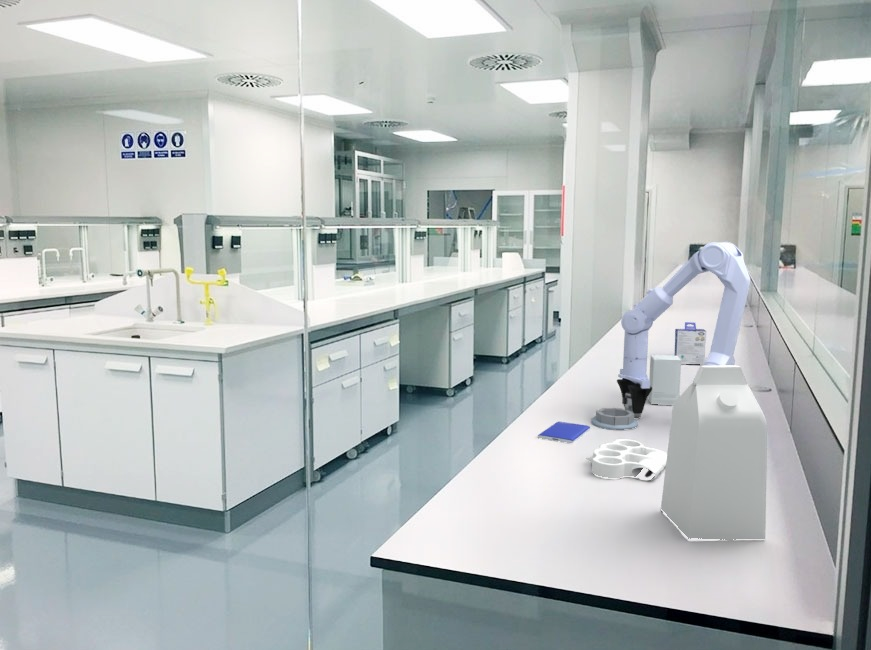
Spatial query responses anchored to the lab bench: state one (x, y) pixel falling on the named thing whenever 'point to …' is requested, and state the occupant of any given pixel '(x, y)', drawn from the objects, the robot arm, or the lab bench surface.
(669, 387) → the supplement box
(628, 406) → the silver metal canister
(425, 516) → the lab bench surface
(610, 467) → the white holed flat tray
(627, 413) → the collar
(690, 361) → the ink cartridge box
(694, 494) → the milk
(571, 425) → the hard drive
